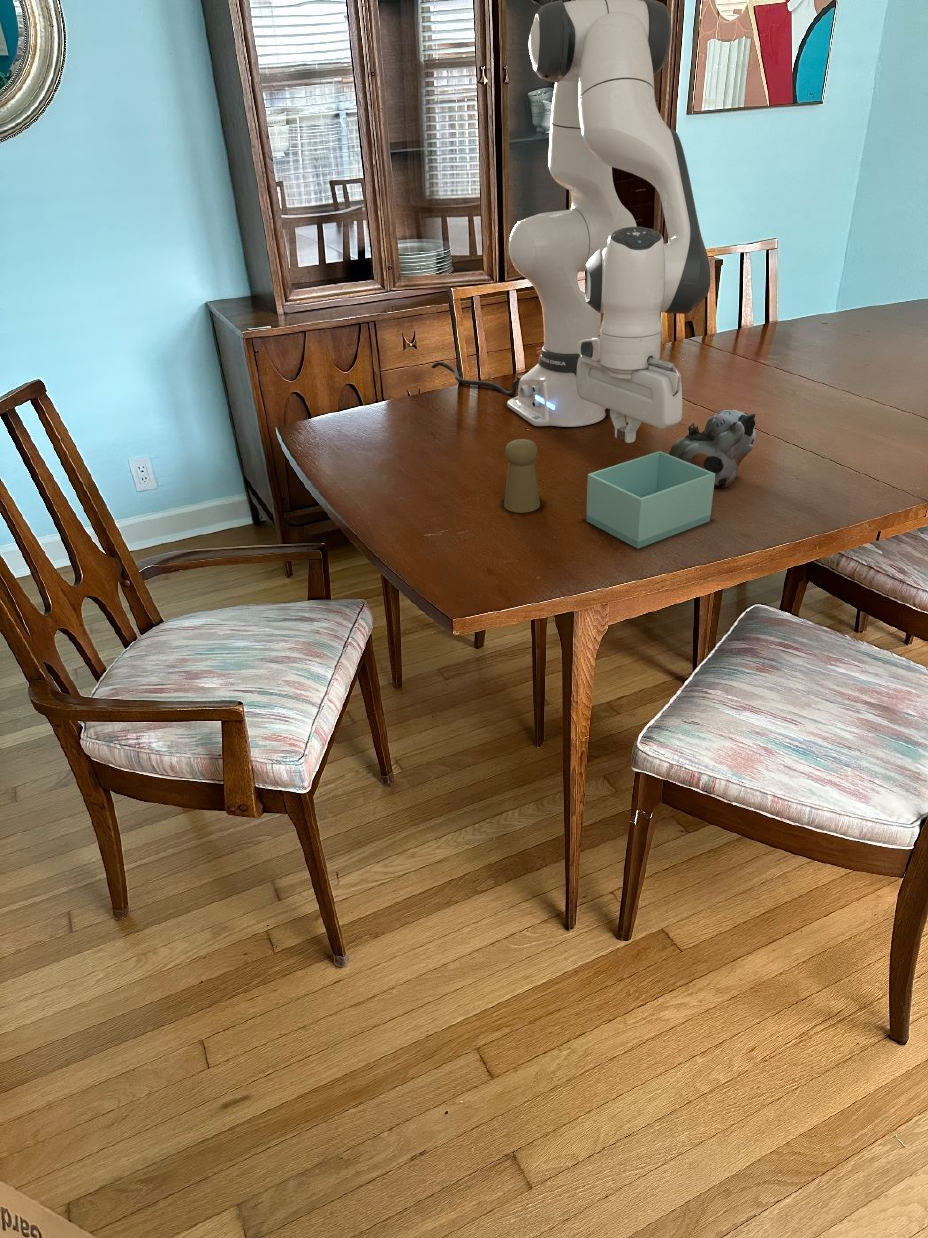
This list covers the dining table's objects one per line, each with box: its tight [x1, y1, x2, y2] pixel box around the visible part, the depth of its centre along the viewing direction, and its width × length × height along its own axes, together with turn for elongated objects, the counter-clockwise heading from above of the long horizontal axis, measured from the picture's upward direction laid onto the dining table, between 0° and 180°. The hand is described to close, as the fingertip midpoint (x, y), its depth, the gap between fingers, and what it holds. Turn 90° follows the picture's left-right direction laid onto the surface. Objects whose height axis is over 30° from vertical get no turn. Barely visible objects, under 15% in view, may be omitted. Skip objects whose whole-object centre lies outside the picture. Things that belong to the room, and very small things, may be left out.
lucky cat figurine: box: [668, 409, 757, 489], centre depth 145 cm, size 15×12×14 cm
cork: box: [503, 438, 541, 514], centre depth 139 cm, size 6×6×11 cm
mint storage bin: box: [585, 450, 715, 549], centre depth 132 cm, size 8×15×12 cm
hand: (624, 439), depth 133 cm, fingers closed
